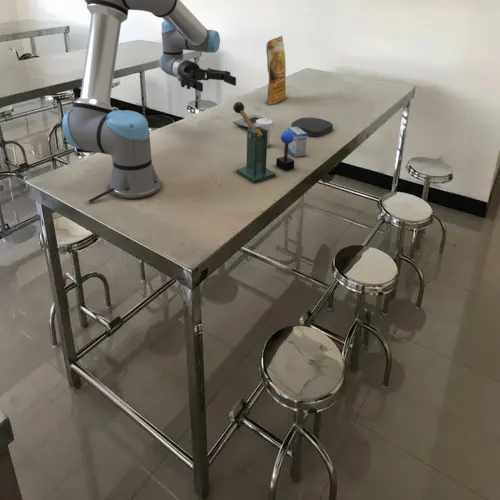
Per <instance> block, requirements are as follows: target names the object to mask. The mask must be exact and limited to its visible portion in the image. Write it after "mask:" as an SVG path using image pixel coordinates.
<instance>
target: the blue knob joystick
mask: <svg viewBox="0 0 500 500" xmlns="http://www.w3.org/2000/svg"><path fill="white" fill-rule="evenodd" d="M293 138H294V136H293V133H292V132H290V131H288V130H284V131H282V132H281V134H280V141H281V142H282V143H283V144H284V150H283V156H279V157H276V160H275V167H277V168H278V169H280V170H282V171H284V172H287V171H290V170H294V169H295V160H294V159H292V158H290V157H289V155H288V154H289V151H288V144H289V143H291V142H292V141H293Z"/></svg>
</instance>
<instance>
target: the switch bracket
mask: <svg viewBox="0 0 500 500" xmlns="http://www.w3.org/2000/svg"><path fill="white" fill-rule="evenodd" d="M256 129H260V130H261V132H262V133H263V137H262V139H261V140H258V132H256V131H254V130H252V129H250V128H249V129H248V128H246V164H245V165H246V166H243V167H239V168H237V169H236V173H237V174H239V175H240V176H242V177H244V179H247V180H248V181H250V182H252V183H253V184H256V183H259V182H262V181H265V180H270V179H272V178H275V177H276V172H274V171H272V170H270V169H269V168H267V156H268V155H267V154H268V147H267V137H268V130H267V129H265V128H263V127H261V126H257V128H256Z"/></svg>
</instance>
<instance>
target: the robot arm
mask: <svg viewBox="0 0 500 500" xmlns="http://www.w3.org/2000/svg"><path fill="white" fill-rule="evenodd" d="M84 2H85V4H86V9H87V10H88V12H89V13H90V21H89V22H90V23H89V30H88V35H87V36H88V37H87V43H86V52H85V58H84V59H85V60H84V65H83V66H84V67H83V73H82V82H81V89H80V97H79V98H78V99H75V101H73V106H72V107H73V108H70V109H67V111H66V113H65V114H64V115H63V118H62V122H61V126H62V127H61V129H62V133H63V136H64V139H66V141H67V143H68V144H69V145H70V146H71V147H73V148H75V149H78V150H82V151H85V152H93V153H99V154H104V155H110V156H111V158H112V160H111V161H112V167H113V168H112V172H111V176H110V182H109V189H108V190H106V191H104V192H101V193H100V194H98V195H96V196H94V197H92V198H91V199H89V200H88V202H89V203H92V202H94V201H96V200H98V199H100V198H102V197H103V196H106V195H108V194H110V193H111V194H112V195H114V196H115V197H118V198H122V199H127V200H128V199H129V200H134V199H135V200H136V199H143V198H147V197H150V196H152V195H154V194H156V193H158V191H159V190H160V188H161V184H160V183H161V182H160V181H161V180H160V178H159V176H158V173H157V172H156V170H155V168H154V165H153V159H152V147H151V136H150V135H151V131H150V128H149V123H148V120H147V118H146V117H145V116H144V115H142V113H139V112H137V111H134V110H127V109H125V110H122V109H117V110H114V109H113V107H112V106H111V96H112V90H113V83H114V75H115V70H116V64H117V63H116V62H117V55H118V47H119V42H120V35H121V28H122V23H124V22H126V21H127V20H128V16H129V11H142V12H147V13H150V14H151V15H153V16H155V17H156V18H160V19H161V18H162V19H163V21H162V22H161V32H160V33H161V41H162V42H161V43H162V55H161V56H160V57H159V61H158V64H159V67H160V69H161V71H162V72H164V73H165V74H166V75H169V76H171V77H174V78H176V79H177V80H178V81H179V83H180V87H181V88H185V87H186V90H191V88H192V89H194V90H196V91H198V92H200V93H202V92H204V83H203V82H201V81H209V80H214V81H215V80H216V81H223V82H224V83H226V84H229V85H232V86H234V87H236V86H237V77H236V76H233V75H232V74H231V71H228V70H220V69H215V68H210V67H208V68H206V69H204V68H201V67H200V66H199V64H198V63H196V62H194V61H192V60H190V59H188V58H184V50H185V51H192V52H200V53H201V52H202V53H207V54H208V53H211V54H214V53H216V52H218V51H219V49H220V44H221V36H220V33H219V31H217V30H213V29H207V28H206V26H205V25H204V24H203V23H202V22H201V21H200V20H199V19H198V18H197V17H196V16H195V15H194V14H193V12H191V10H190V9H188V7H187V6H186V5H185V4H184V3H183V2H182V1H181V0H84Z"/></svg>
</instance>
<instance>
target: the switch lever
mask: <svg viewBox="0 0 500 500" xmlns="http://www.w3.org/2000/svg"><path fill="white" fill-rule="evenodd" d="M232 109H233V111H234V112H235V113H236V114H240V116H241V118H244V120H245V121H246V123H247V124H248V126H249V127H250V129H252V130H254V131H256V132H258V140H261V139H262V137H263V133H262V132H261V130H260V129H257V128H255V127H254V125H253V124H252V122H251V121H250V119H249V118H248V116H249V115H248V114H247V113H246V112H245V105H244V103H243V102H241V101H237V102H235V103H234V105H233V107H232Z"/></svg>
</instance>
